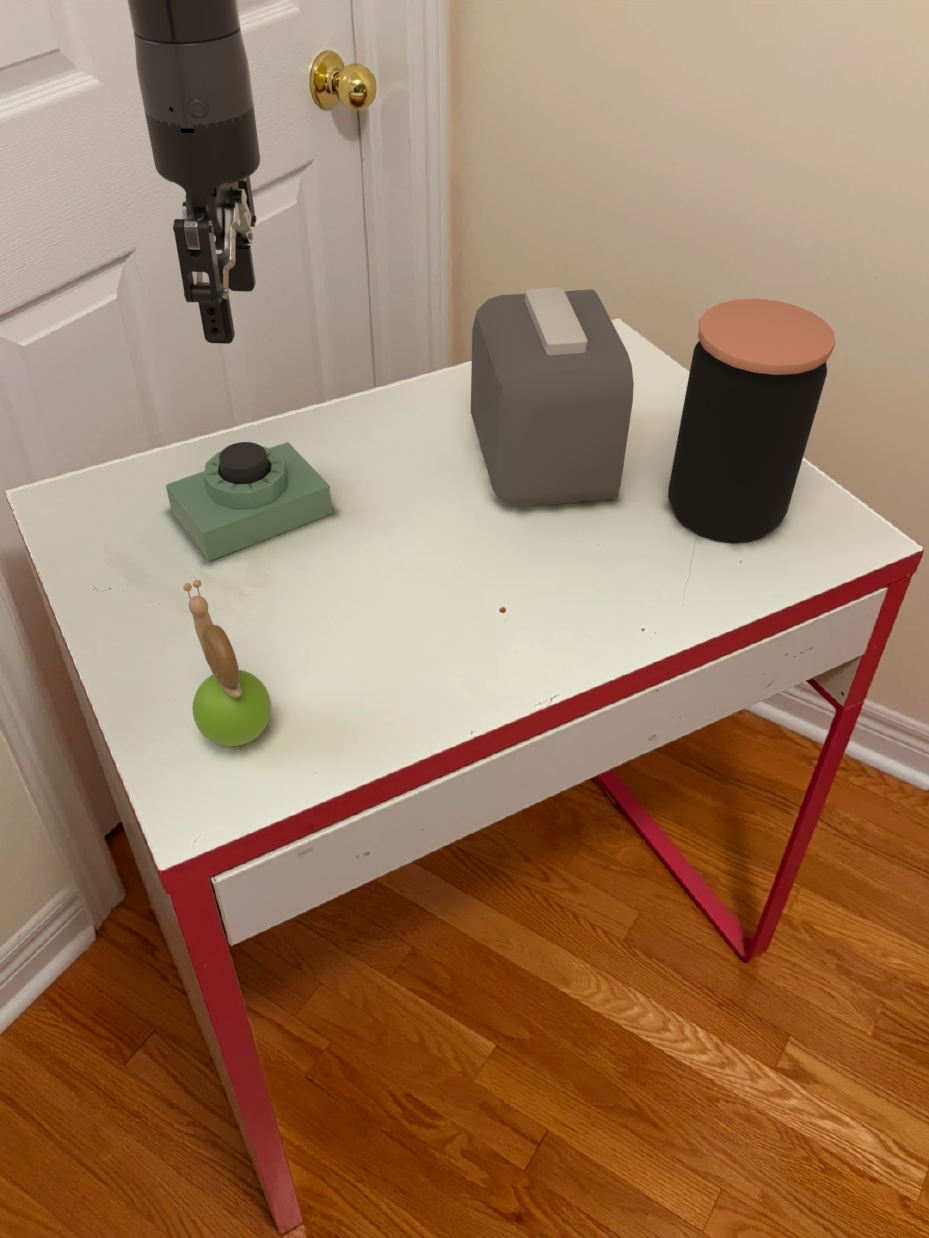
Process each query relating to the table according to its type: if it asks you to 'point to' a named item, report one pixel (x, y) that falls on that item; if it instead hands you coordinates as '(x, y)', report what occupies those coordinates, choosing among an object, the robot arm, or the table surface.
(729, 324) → the coffee jar
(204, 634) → the snail figurine
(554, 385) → the alarm clock
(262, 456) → the black button
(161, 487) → the table surface
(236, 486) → the green push button box
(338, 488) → the table surface
